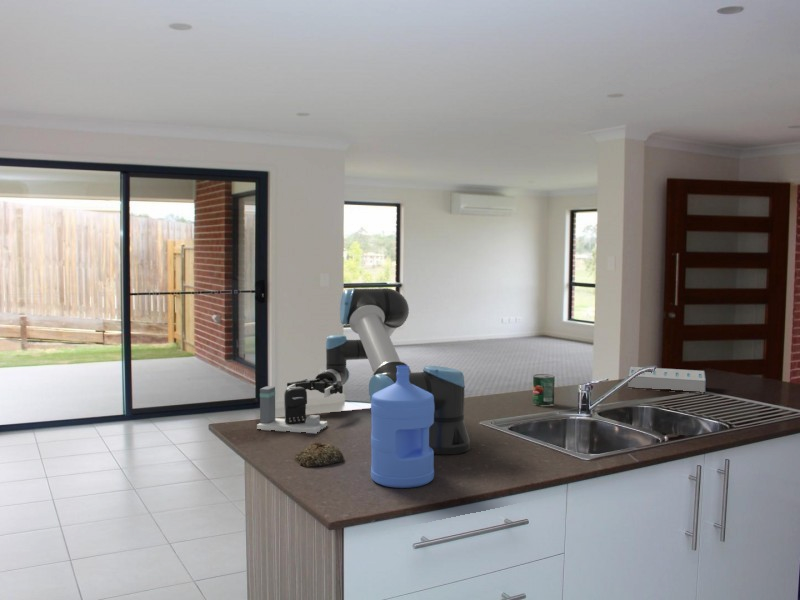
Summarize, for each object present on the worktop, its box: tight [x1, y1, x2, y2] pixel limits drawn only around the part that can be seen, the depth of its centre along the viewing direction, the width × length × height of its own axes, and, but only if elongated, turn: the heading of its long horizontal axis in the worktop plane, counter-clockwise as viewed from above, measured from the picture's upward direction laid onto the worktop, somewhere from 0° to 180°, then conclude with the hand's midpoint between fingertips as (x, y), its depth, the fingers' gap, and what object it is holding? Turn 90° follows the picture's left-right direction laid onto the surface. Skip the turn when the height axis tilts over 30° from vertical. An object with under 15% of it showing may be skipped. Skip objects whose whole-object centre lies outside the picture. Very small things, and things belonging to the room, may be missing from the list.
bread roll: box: [294, 441, 344, 468], centre depth 186 cm, size 13×12×5 cm
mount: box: [256, 385, 328, 434], centre depth 221 cm, size 10×20×12 cm, turn 76°
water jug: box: [370, 365, 435, 489], centre depth 170 cm, size 16×16×28 cm
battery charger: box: [283, 387, 308, 424], centre depth 220 cm, size 7×4×11 cm, turn 117°
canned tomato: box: [532, 373, 556, 405], centre depth 257 cm, size 8×8×11 cm
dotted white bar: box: [627, 366, 707, 393], centre depth 292 cm, size 30×14×8 cm, turn 68°
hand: (306, 392), depth 230 cm, fingers open, 13 cm apart
